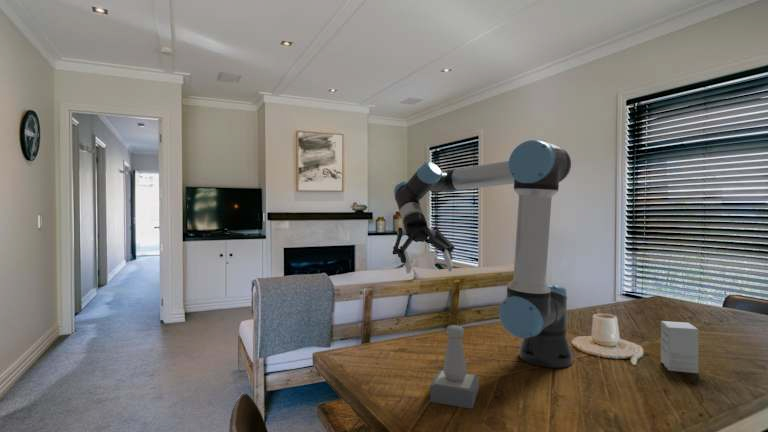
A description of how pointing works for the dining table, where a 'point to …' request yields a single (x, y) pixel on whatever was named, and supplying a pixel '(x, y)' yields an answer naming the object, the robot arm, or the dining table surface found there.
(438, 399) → the slate plinth
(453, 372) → the salt shaker
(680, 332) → the supplement box
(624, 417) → the dining table surface
